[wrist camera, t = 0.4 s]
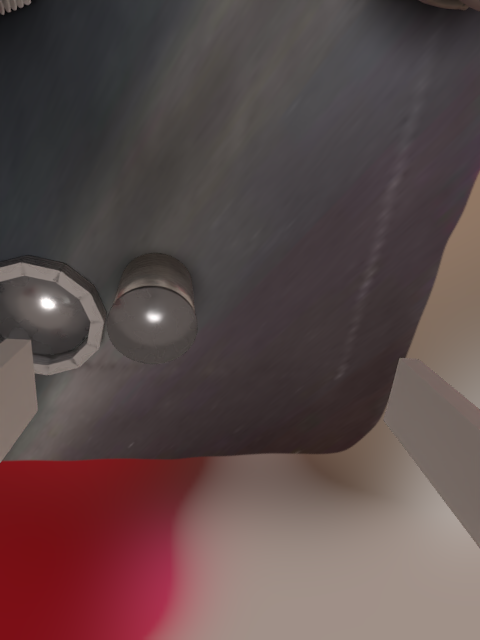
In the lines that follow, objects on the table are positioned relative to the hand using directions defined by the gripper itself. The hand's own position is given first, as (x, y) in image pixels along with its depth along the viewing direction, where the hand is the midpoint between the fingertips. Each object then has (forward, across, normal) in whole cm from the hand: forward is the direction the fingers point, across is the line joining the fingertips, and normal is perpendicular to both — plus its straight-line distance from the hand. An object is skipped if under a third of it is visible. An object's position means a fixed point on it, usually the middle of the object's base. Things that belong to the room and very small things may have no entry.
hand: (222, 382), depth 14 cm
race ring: (+25, -16, -7) cm, 31 cm away
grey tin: (+25, -5, -4) cm, 26 cm away
